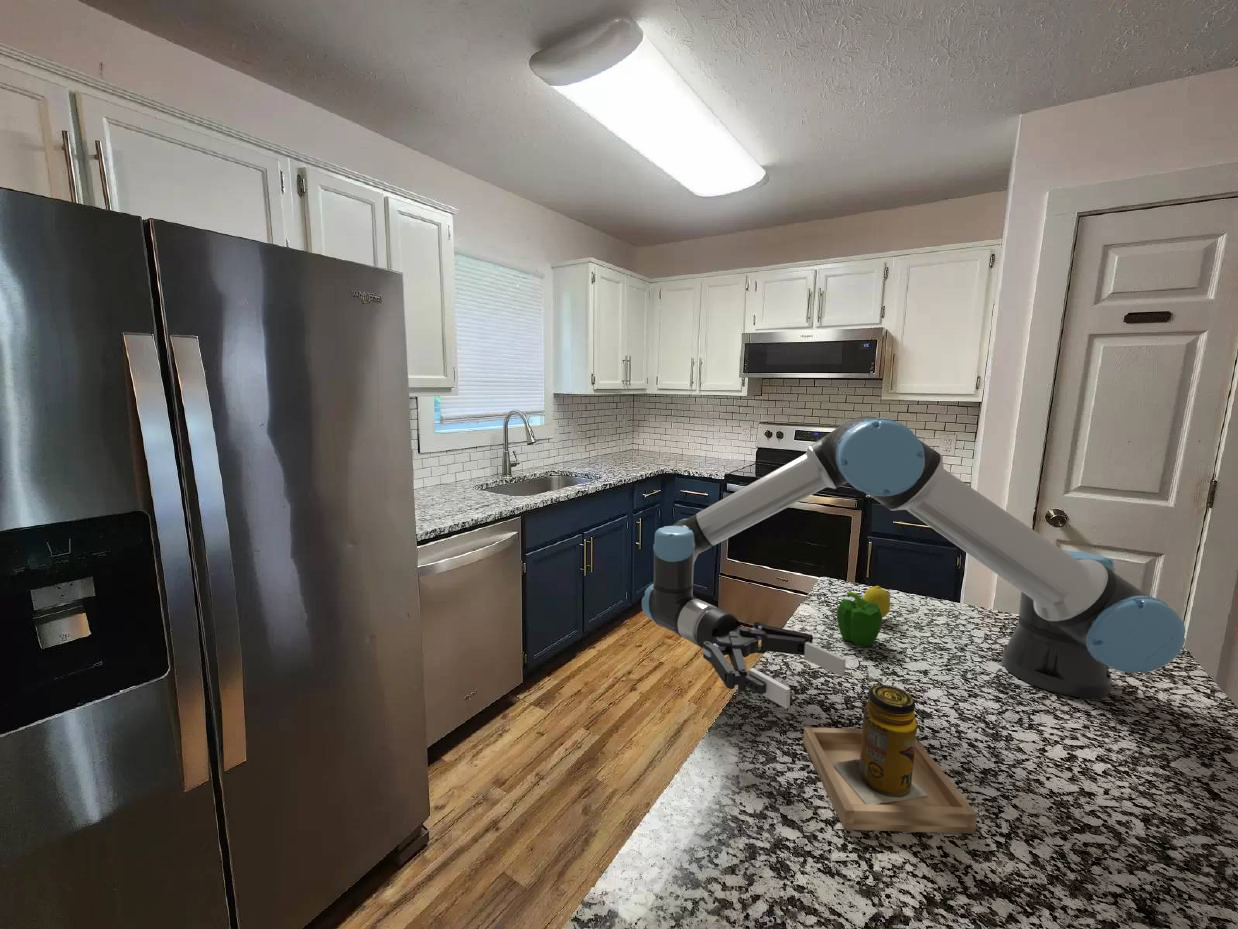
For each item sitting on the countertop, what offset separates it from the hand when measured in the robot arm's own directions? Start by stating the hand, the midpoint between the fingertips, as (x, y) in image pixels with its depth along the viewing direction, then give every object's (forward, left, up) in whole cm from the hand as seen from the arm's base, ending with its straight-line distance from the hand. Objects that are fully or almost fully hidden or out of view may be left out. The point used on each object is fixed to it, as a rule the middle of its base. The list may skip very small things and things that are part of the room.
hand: (817, 682), depth 74 cm
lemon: (-28, -42, -10) cm, 52 cm away
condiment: (-5, +8, -9) cm, 13 cm away
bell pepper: (-20, -32, -10) cm, 39 cm away
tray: (-6, +8, -9) cm, 14 cm away
